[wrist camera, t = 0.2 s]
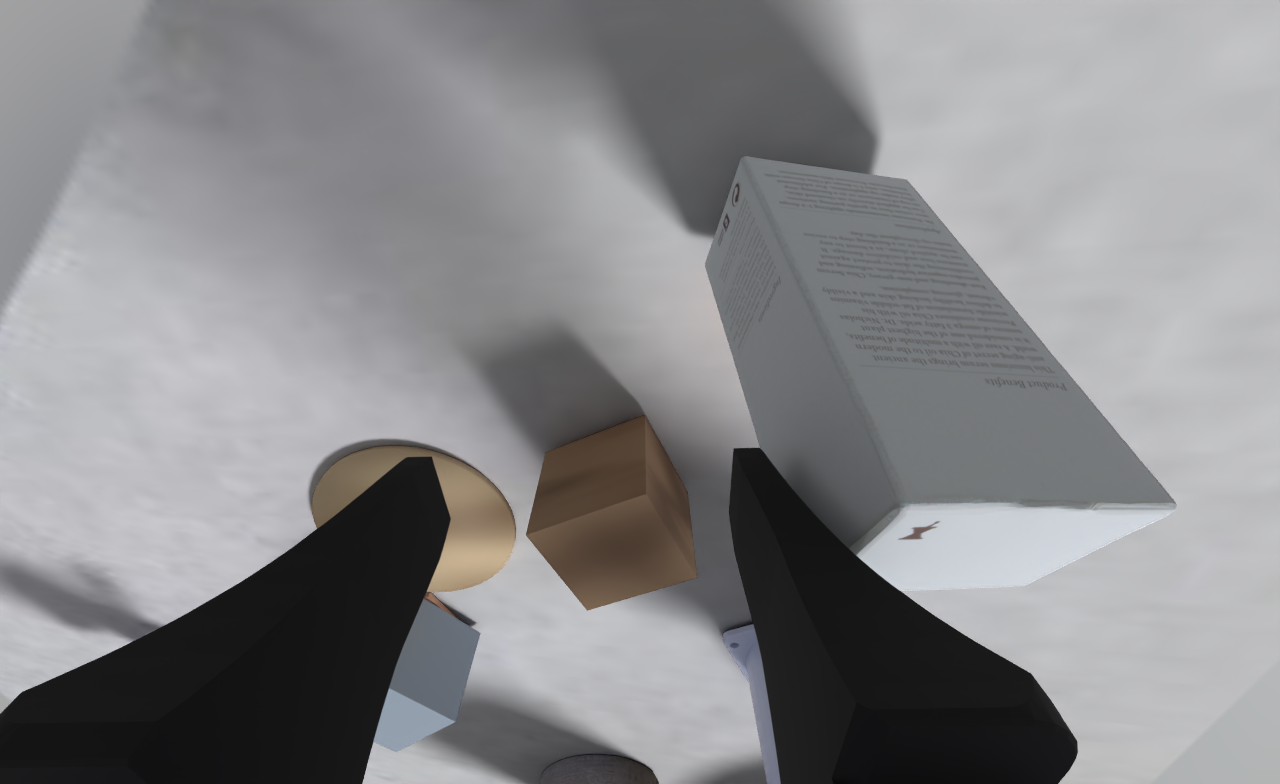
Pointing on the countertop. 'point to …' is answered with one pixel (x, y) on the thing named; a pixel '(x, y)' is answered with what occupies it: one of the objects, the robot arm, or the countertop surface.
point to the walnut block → (613, 516)
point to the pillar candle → (597, 771)
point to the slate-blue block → (427, 678)
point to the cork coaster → (471, 499)
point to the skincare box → (911, 387)
